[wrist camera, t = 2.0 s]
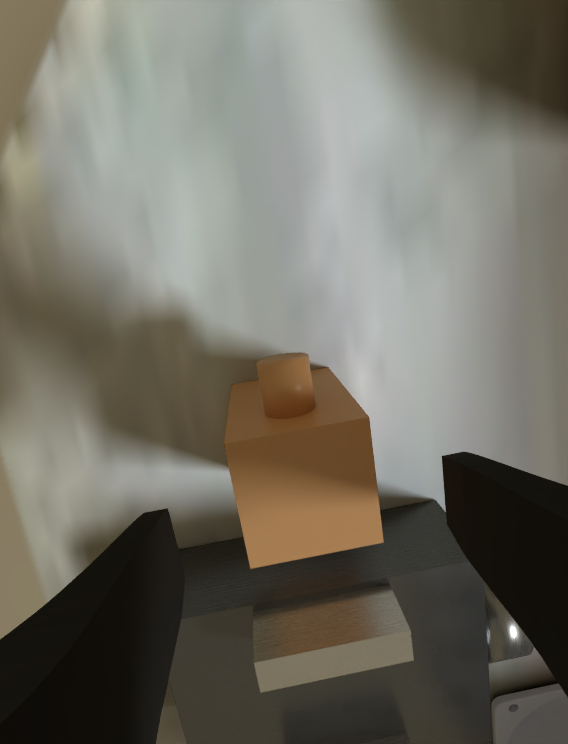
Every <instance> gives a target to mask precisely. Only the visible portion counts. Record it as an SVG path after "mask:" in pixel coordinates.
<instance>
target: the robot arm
mask: <svg viewBox="0 0 568 744" xmlns="http://www.w3.org/2000/svg"><path fill="white" fill-rule="evenodd" d="M442 464H443V478H444V492H445V506H446V519H447V525H448V527H449V529H450V531H451V532H452V534H453V536H454V538H455V539H456V541H457V543H458V545H459V546H460V548H461V550H462V551H463V553H464V555H465V556H466V558H467V559H468V561H469V562H470V563H471V565H472V566H473V567H474V569H475V570H476V571H477V573H478V574H479V575H480V576H481V578H482V579H483V580H484V582H485V583H486V584H487V586H488V587H489V588H490V589H491V591H492V592H493V593H494V595H495V596H496V597H497V599H498V600H499V601H500V602H501V604H502V605H503V606H504V608H505V609H506V610H507V611H508V613H509V614H510V615H511V617H512V618H513V619H514V620H515V622H516V623H517V624H518V626H519V627H520V628H521V629H522V631H523V632H524V633H525V635H526V636H527V637H528V639H529V640H530V641H531V643H532V644H533V646H534V647H535V648H536V650H537V651H538V653H539V654H540V655H541V657H542V658H543V660H544V661H545V663H546V665H547V666H548V668H549V669H550V671H551V672H552V674H553V675H554V677H555V679H556V680H557V682H558V683H557V684H553V685H548V686H544V687H539V688H534V689H530V690H525V691H520V692H516V693H511V694H507V695H502V696H498V697H496V698H495V699H494V700H493V701H492V704H491V711H492V731H493V744H568V486H567V485H564V484H560V483H557V482H554V481H551V480H548V479H545V478H542V477H539V476H536V475H533V474H530V473H528V472H525V471H522V470H519V469H516V468H513V467H511V466H508V465H505V464H502V463H499V462H497V461H494V460H491V459H488V458H485V457H482V456H479V455H475V454H472V453H468V452H460V453H455V454H450V455H445V456H442ZM184 587H185V573H184V569H183V565H182V561H181V558H180V554H179V550H178V546H177V542H176V538H175V535H174V531H173V527H172V523H171V519H170V515H169V512H168V508H167V509H162V510H157V511H152V512H146V513H143V514H142V515H141V516H140V517H138V518H137V519H136V520H135V521H134V522H133V523H132V524H131V525H130V526H129V527H128V528H127V529H126V530H125V531H124V532H123V533H122V534H121V535H120V536H119V537H118V538H117V539H116V540H115V541H114V542H113V543H112V544H111V545H110V546H109V547H108V548H107V549H106V550H105V551H104V552H103V553H102V554H101V555H99V556H98V557H97V558H96V559H95V560H94V561H93V562H92V563H91V564H90V565H89V566H88V567H87V568H86V569H85V570H84V571H83V572H81V573H80V574H79V575H78V576H77V577H76V578H75V579H74V580H73V581H72V582H70V583H69V584H68V585H67V586H66V587H65V588H64V589H63V590H62V591H60V592H59V593H58V594H57V595H56V596H55V597H54V598H52V599H51V600H50V601H49V602H48V603H47V604H45V605H44V606H43V607H42V608H40V609H39V610H38V611H37V612H36V613H34V614H33V615H32V616H31V617H29V618H28V619H27V620H25V621H24V622H23V623H22V624H20V625H19V626H18V627H16V628H15V629H14V630H12V631H11V632H10V633H9V634H7V635H6V636H4V637H3V638H2V639H1V640H0V744H156V739H157V733H158V727H159V722H160V716H161V711H162V707H163V702H164V697H165V693H166V688H167V684H168V679H169V674H170V670H171V665H172V661H173V656H174V651H175V647H176V642H177V637H178V632H179V628H180V623H181V618H182V610H183V600H184Z"/></svg>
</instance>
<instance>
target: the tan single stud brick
mask: <svg viewBox="0 0 568 744" xmlns="http://www.w3.org/2000/svg"><path fill="white" fill-rule="evenodd" d="M256 367H257V372H258V377H259V380H254V381H248V382H243V383H237V384H232V386H231V394H230V401H229V409H228V416H227V423H226V431H225V438H224V447H225V452H226V457H227V461H228V466H229V471H230V475H231V480H232V485H233V489H234V494H235V499H236V503H237V508H238V513H239V518H240V522H241V527H242V532H243V536H244V541H245V546H246V550H247V555H248V560H249V564H250V569H252V568H257V567H262V566H267V565H272V564H277V563H282V562H288V561H293V560H298V559H303V558H308V557H313V556H318V555H323V554H328V553H333V552H338V551H343V550H348V549H354V548H359V547H364V546H369V545H374V544H379V543H384V540H383V532H382V523H381V515H380V506H379V498H378V489H377V481H376V472H375V464H374V455H373V447H372V438H371V430H370V421H369V416H368V415H367V414H366V413H365V412H364V410H363V409H362V408H361V407H360V405H359V404H358V403H357V402H356V400H355V399H354V398H353V397H352V396H351V394H350V393H349V392H348V391H347V389H346V388H345V387H344V386H343V385H342V383H341V382H340V381H339V380H338V378H337V377H336V376H335V375H334V374H333V372H332V371H331V370H330V369H329V367H327V368H321V369H316V370H310V363H309V357H308V354H306V353H285V354H279V355H274V356H270V357H267V358H264V359H261V360H259V361H258V362H257V363H256Z"/></svg>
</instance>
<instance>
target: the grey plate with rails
mask: <svg viewBox="0 0 568 744" xmlns="http://www.w3.org/2000/svg"><path fill="white" fill-rule="evenodd" d="M380 515H381V523H382V532H383V540H384V543H379V544H374V545H369V546H364V547H359V548H354V549H348V550H343V551H338V552H333V553H328V554H323V555H318V556H313V557H308V558H303V559H298V560H293V561H288V562H282V563H277V564H272V565H267V566H262V567H257V568H252V569H250V564H249V560H248V555H247V550H246V546H245V541H244V537H242V538H237V539H232V540H227V541H222V542H217V543H211V544H206V545H201V546H196V547H191V548H186V549H181V550H179V554H180V558H181V561H182V565H183V569H184V573H185V587H184V600H183V610H182V618H181V623H180V628H179V632H178V637H177V642H176V647H175V651H174V656H173V661H172V665H171V670H170V674H169V683H170V686H171V689H172V693H173V696H174V700H175V703H176V706H177V710H178V713H179V717H180V720H181V724H182V727H183V730H184V734H185V737H186V741H187V744H485V743H490V742H492V727H491V707H490V687H489V667H488V664H489V663H494V662H499V661H503V660H508V659H513V658H517V657H522V656H527V655H530V654H531V653H532V651H533V647H534V646H533V644H532V643H531V641H530V640H529V639H528V637H527V636H526V635H525V633H524V632H523V631H522V629H521V628H520V627H519V626H518V624H517V623H516V622H515V620H514V619H513V618H512V617H511V615H510V614H509V613H508V611H507V610H506V609H505V608H504V606H503V605H502V604H501V602H500V601H499V600H498V599H497V597H496V596H495V595H494V593H493V592H492V591H491V589H490V588H489V587H488V586H487V584H486V583H485V582H484V580H483V579H482V578H481V576H480V575H479V574H478V573H477V571H476V570H475V569H474V567H473V566H472V565H471V563H470V562H469V561H468V559H467V558H466V556H465V555H464V553H463V551H462V550H461V548H460V546H459V545H458V543H457V541H456V539H455V538H454V536H453V534H452V532H451V531H450V529H449V527H448V525H447V519H446V512H445V511H444V510H443V509H442V507H441V506H440V505H439V504H438V503H437V501H436V500H432V501H427V502H422V503H417V504H412V505H407V506H402V507H396V508H391V509H386V510H381V511H380Z"/></svg>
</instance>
